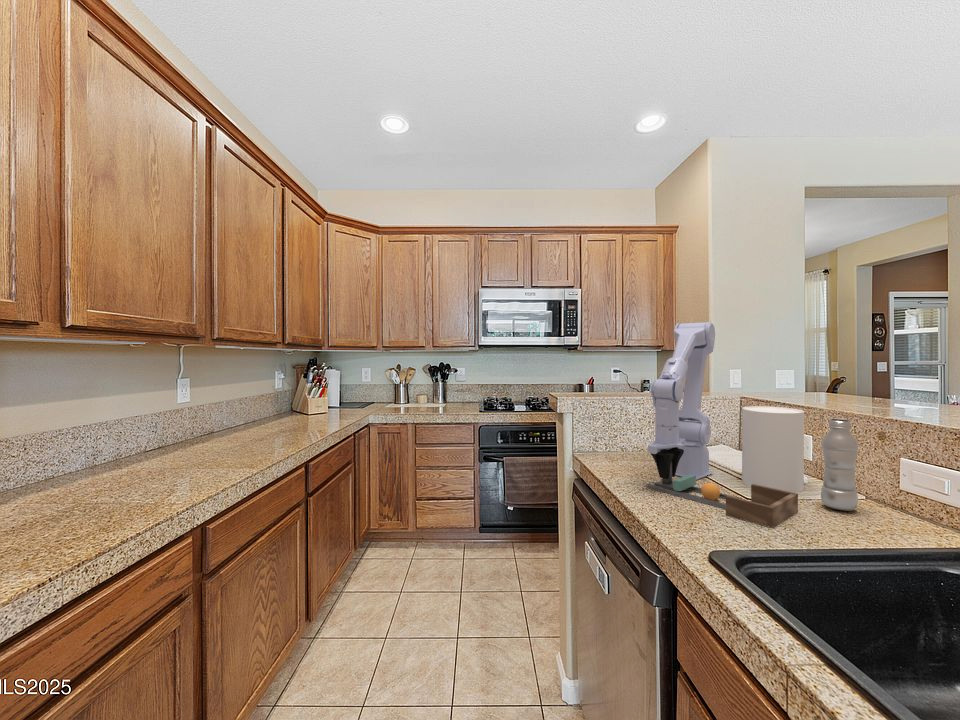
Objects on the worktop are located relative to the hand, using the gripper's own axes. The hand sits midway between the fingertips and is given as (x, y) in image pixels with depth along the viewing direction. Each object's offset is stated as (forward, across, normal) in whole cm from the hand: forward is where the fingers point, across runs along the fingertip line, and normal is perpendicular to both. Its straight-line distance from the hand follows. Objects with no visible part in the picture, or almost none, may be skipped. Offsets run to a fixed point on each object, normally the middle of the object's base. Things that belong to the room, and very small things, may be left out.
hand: (667, 477), depth 112 cm
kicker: (+3, 0, -1) cm, 3 cm away
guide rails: (+3, 0, -6) cm, 7 cm away
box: (+3, 0, -22) cm, 22 cm away
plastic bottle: (+3, +16, -32) cm, 36 cm away
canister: (+3, +24, -15) cm, 29 cm away
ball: (+1, 0, -11) cm, 11 cm away
